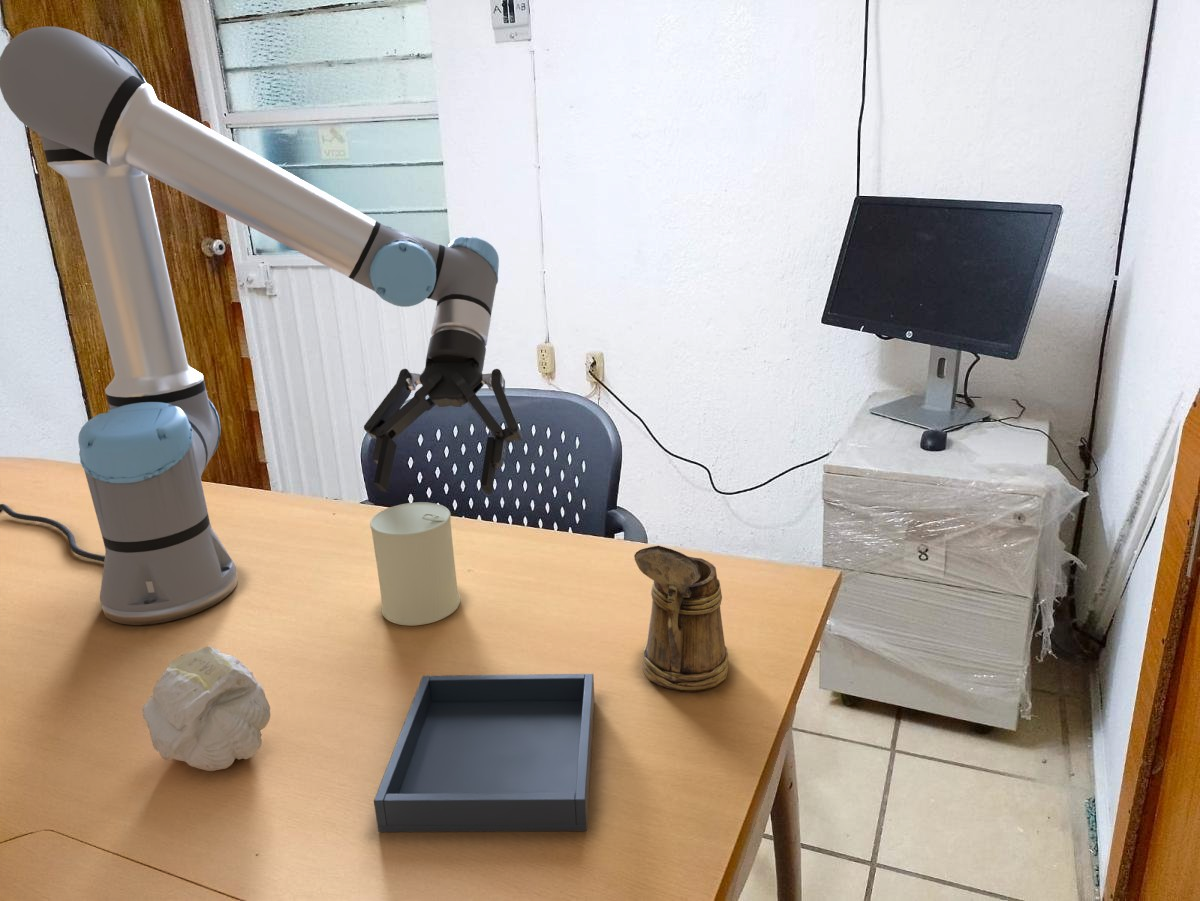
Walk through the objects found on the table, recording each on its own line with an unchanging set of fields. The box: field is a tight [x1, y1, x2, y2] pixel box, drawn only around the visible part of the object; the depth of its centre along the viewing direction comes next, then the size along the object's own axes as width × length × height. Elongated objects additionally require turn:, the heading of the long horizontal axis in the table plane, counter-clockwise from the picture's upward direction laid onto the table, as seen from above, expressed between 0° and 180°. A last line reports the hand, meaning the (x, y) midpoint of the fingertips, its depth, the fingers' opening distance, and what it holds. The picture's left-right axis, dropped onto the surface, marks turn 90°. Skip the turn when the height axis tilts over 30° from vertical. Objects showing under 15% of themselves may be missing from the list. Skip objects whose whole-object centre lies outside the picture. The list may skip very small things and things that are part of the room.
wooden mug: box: [633, 545, 729, 693], centre depth 80 cm, size 9×14×18 cm, turn 159°
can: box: [369, 501, 461, 627], centre depth 97 cm, size 9×9×12 cm
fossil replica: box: [141, 646, 271, 772], centre depth 75 cm, size 12×8×10 cm
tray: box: [373, 673, 596, 833], centre depth 73 cm, size 17×17×3 cm
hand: (432, 488), depth 102 cm, fingers open, 13 cm apart
